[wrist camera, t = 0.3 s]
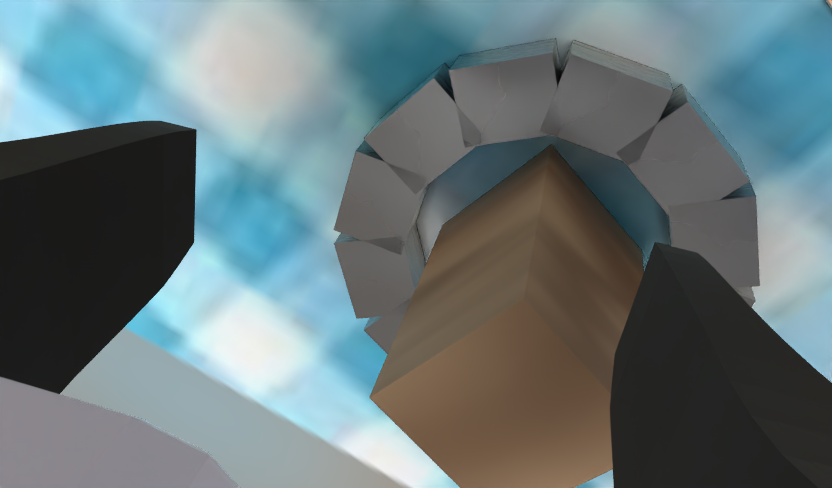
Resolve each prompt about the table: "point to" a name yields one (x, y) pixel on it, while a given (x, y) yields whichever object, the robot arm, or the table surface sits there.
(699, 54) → the table surface
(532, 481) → the link block
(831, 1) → the terracotta tile
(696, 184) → the holder ring
